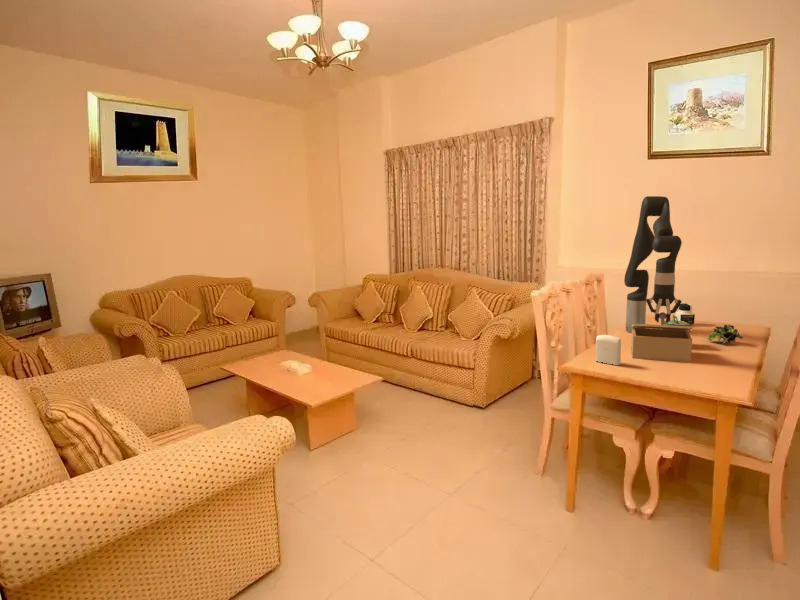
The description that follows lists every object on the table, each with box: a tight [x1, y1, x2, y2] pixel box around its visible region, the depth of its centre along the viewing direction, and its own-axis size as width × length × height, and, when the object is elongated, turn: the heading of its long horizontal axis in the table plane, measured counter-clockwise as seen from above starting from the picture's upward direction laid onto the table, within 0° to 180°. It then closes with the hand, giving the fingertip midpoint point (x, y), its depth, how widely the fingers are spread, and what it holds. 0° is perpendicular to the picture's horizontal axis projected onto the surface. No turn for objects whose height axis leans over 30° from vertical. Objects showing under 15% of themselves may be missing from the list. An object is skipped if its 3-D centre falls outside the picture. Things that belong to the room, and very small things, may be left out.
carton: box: [630, 328, 693, 363], centre depth 203 cm, size 16×22×10 cm
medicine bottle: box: [674, 303, 696, 327], centre depth 251 cm, size 7×7×12 cm
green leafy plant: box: [706, 323, 744, 346], centre depth 215 cm, size 11×11×12 cm
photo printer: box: [595, 334, 622, 366], centre depth 195 cm, size 10×4×12 cm, turn 45°
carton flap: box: [632, 312, 695, 331], centre depth 202 cm, size 16×22×6 cm
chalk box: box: [664, 314, 692, 336], centre depth 214 cm, size 9×9×15 cm
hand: (662, 321), depth 197 cm, fingers closed on carton flap, 3 cm apart
